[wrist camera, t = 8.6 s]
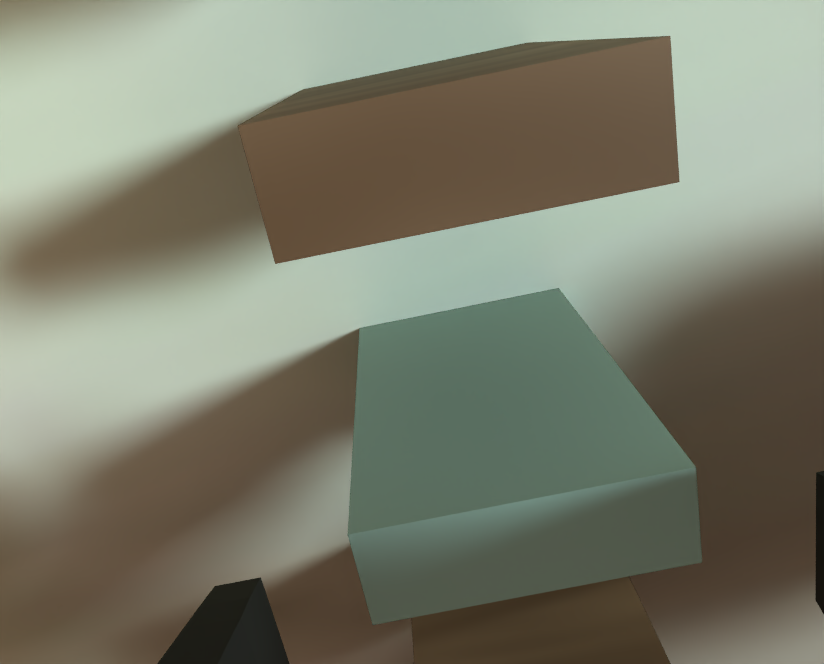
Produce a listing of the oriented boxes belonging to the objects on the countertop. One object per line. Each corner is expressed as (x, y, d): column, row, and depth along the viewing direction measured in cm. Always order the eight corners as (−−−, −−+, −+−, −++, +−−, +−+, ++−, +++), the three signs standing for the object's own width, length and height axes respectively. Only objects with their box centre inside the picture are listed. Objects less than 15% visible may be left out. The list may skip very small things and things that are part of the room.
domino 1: (303, 89, 16) (238, 126, 8) (527, 42, 15) (669, 36, 8) (321, 164, 16) (275, 263, 9) (537, 120, 16) (679, 181, 9)
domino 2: (359, 328, 18) (347, 534, 10) (558, 288, 17) (695, 467, 10) (373, 387, 18) (372, 625, 11) (566, 349, 18) (701, 562, 11)
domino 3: (405, 518, 20) (423, 808, 12) (584, 484, 19) (714, 756, 12) (416, 566, 20) (440, 872, 13) (590, 534, 20) (718, 823, 13)
